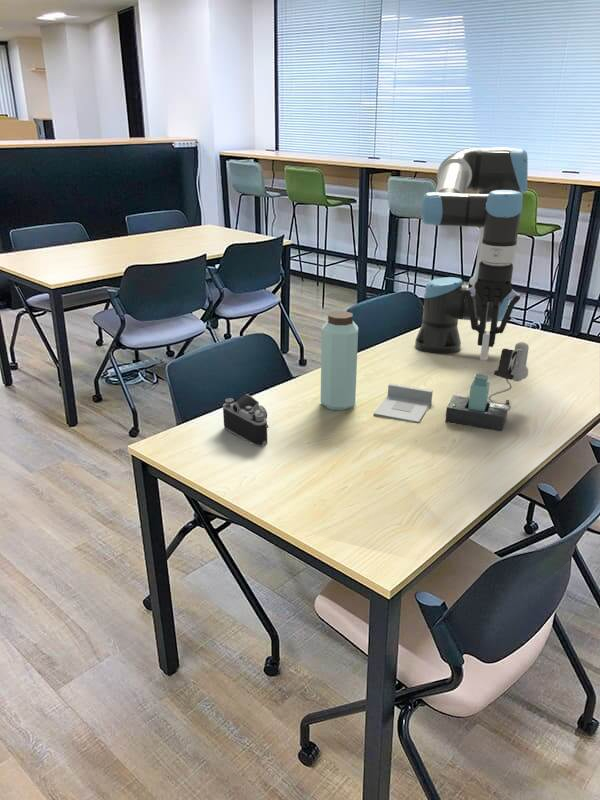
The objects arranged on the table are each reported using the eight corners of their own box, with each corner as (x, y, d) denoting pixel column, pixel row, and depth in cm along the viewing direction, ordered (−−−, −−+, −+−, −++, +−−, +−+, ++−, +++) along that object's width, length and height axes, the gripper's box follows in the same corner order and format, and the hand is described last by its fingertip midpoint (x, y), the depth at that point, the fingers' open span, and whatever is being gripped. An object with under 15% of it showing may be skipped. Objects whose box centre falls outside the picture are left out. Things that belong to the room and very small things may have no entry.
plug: (469, 415, 163) (474, 372, 158) (485, 418, 162) (490, 374, 157) (466, 421, 160) (471, 378, 155) (482, 424, 158) (488, 380, 154)
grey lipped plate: (388, 395, 176) (389, 383, 175) (431, 402, 172) (432, 390, 170) (373, 415, 164) (374, 402, 163) (418, 423, 160) (420, 411, 159)
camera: (286, 437, 153) (285, 400, 149) (259, 449, 148) (258, 410, 144) (246, 417, 164) (245, 381, 160) (220, 426, 159) (218, 390, 155)
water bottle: (313, 407, 169) (314, 317, 159) (329, 393, 177) (331, 307, 167) (347, 414, 165) (350, 322, 154) (362, 400, 173) (366, 312, 162)
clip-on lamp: (504, 418, 163) (514, 353, 155) (482, 411, 167) (491, 346, 159) (526, 404, 170) (536, 341, 163) (504, 397, 174) (513, 335, 167)
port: (451, 410, 167) (453, 394, 165) (509, 420, 162) (511, 403, 160) (445, 423, 160) (446, 406, 158) (504, 434, 155) (507, 416, 153)
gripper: (464, 263, 143) (454, 359, 154) (524, 268, 139) (509, 367, 149) (470, 256, 150) (460, 349, 160) (528, 261, 145) (513, 356, 155)
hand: (484, 358), depth 154 cm, fingers closed
